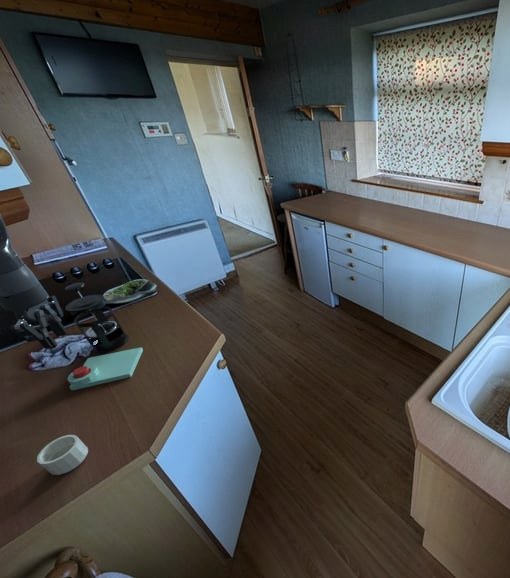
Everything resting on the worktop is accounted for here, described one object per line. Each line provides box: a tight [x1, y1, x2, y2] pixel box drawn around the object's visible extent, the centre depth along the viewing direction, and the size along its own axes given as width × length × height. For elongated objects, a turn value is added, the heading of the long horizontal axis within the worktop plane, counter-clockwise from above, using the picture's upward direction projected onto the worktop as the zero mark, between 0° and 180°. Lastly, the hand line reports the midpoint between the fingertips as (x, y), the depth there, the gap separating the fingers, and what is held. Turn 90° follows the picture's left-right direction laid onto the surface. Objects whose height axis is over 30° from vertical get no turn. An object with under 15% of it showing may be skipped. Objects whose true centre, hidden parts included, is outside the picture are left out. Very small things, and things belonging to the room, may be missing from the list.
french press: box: [64, 282, 130, 354], centre depth 93 cm, size 12×9×23 cm
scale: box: [66, 347, 144, 391], centre depth 88 cm, size 15×12×3 cm
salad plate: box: [102, 278, 158, 305], centre depth 122 cm, size 19×18×5 cm
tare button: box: [71, 365, 90, 378], centre depth 83 cm, size 3×3×2 cm
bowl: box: [36, 434, 89, 476], centre depth 65 cm, size 6×6×5 cm
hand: (57, 340), depth 77 cm, fingers open, 4 cm apart
